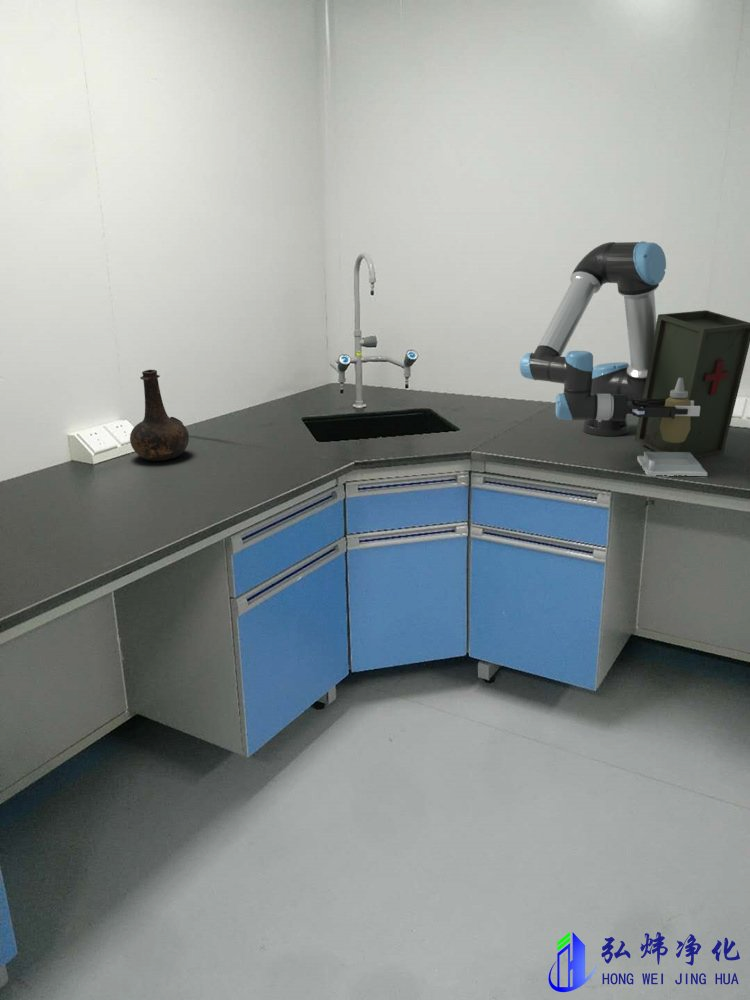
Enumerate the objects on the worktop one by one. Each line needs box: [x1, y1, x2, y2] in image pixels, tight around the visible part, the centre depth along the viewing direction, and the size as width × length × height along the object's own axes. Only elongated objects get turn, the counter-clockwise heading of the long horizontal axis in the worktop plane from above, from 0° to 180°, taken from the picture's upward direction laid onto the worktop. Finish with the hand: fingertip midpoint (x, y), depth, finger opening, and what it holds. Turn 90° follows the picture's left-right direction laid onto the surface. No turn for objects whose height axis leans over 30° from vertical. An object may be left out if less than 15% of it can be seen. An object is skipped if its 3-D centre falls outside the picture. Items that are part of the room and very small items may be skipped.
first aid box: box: [634, 309, 750, 458], centre depth 227 cm, size 18×18×40 cm
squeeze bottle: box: [660, 378, 691, 443], centre depth 213 cm, size 8×8×18 cm
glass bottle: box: [129, 369, 190, 462], centre depth 237 cm, size 18×18×28 cm
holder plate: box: [636, 451, 708, 477], centre depth 218 cm, size 16×16×4 cm
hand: (696, 408), depth 212 cm, fingers closed on squeeze bottle, 6 cm apart
